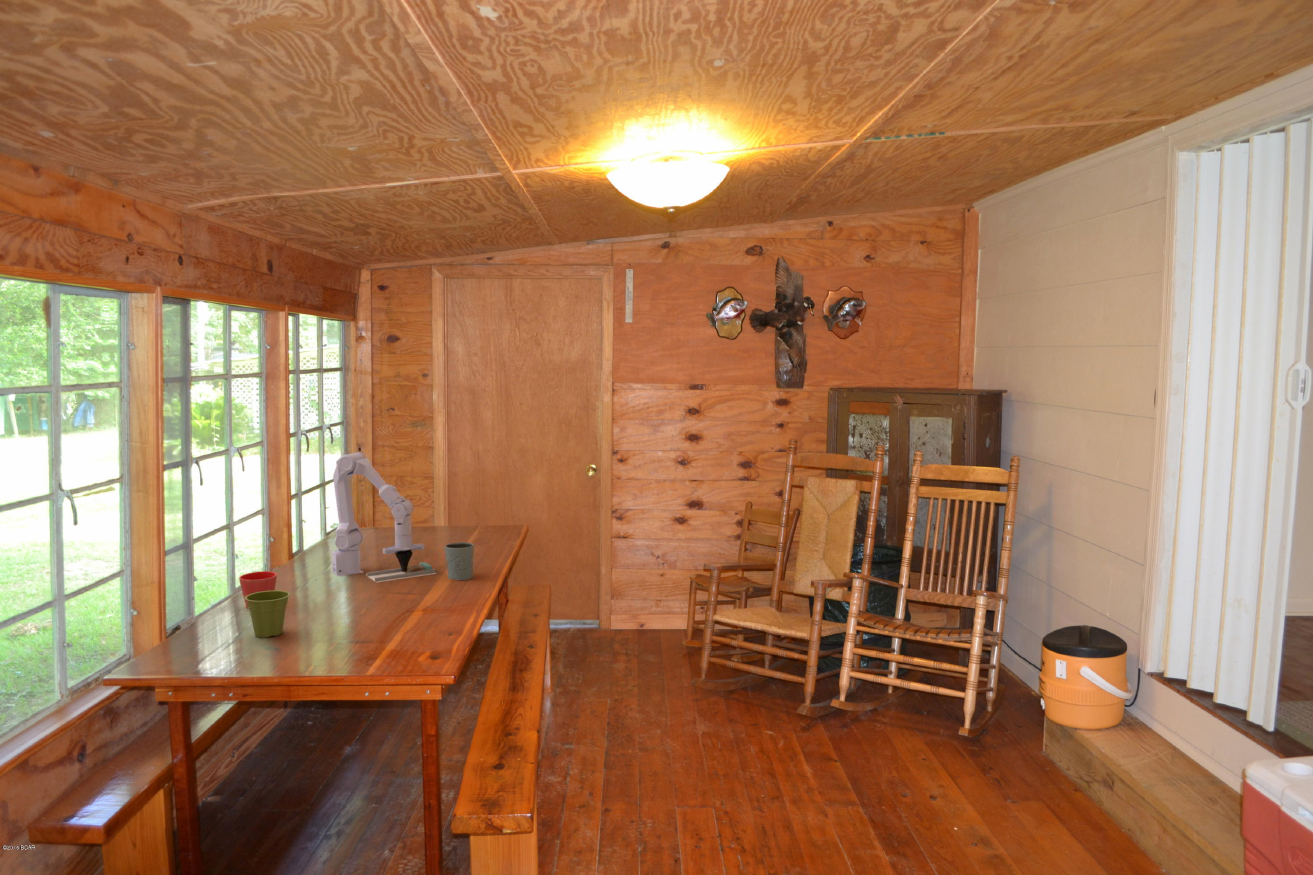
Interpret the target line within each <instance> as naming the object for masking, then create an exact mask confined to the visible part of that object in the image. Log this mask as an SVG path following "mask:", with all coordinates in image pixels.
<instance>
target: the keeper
mask: <svg viewBox="0 0 1313 875" xmlns="http://www.w3.org/2000/svg"><path fill="white" fill-rule="evenodd" d="M418 571H425V567H423V566H421V565H419V564H415V565H408V567H407V572H404V573H411V572H418Z"/></svg>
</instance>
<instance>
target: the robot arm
mask: <svg viewBox="0 0 1313 875" xmlns="http://www.w3.org/2000/svg"><path fill="white" fill-rule="evenodd" d="M335 462H336V464H335V465H336V467H335V468H334V472H333V476H332V479H333V487H334V488H333V489H334V494H335V495H334V496H335V501H336V509H337V510H336V511H337V517H338V525H337V528H336V529H335V538H334V545H335V546H336V548H337V550H333V551H331V552H332V553H331V573H332V574H334V575H335V576H337V577H341V576H348V575H356V574H363V573H364V571H363V570H361V558H360V557H361V556H360V554H361V553H360V547H361V546H360V545H361V543H362V542H363V539H364V538H363V533H362V532H361V530H360V525H359V524H358V523H357V522H356V520H355V513H354V505H353V497H352V496H353V495H352V488H351V482H350V481H351V478H352V477H353V476H354V475H362V476H364V477H365V478H366V479H367V480H368V481H369V482H370V483H371V484H372V485H373V487H375V488H376V489H377V490H378V496H379V497H380V498H381V499H382V500H383V502H384V503H385V504H386V505H387V507H388V508H390V509H391V510H390V512H391V515H392V516H393V518H394V545H392V546H388V547H383V548H382V554H383V555H388V554H394V555H395V557H396V559H397V560H398V563H399V566H400V568H401V571H402V572H407V567H408V566H409V563H410V562H411V558H412V557H413V551H418V550H421V551H422V550H423V551H424V549H425V544H424V543H412V542H413V541H412V513H413V512H414V505H413V503H412V501H411V500H409V499H406V497H404V496H402V495H401V494H400V493H399V491H398V489H397V487H396V486H394V485H392V484H387V482H386V481H385V480H384V479H383V478H382V476H380V474H379V472H378V471H377V470H376V469H375V468H374V467H373V465H372V463H371V461H370V459H369V458H368V457H366V456H365V454H364V453H362V452H360V451H357V452H353V453H349V454H343V455H341V456H340V457H339V458H338V459H337V460H336V461H335Z"/></svg>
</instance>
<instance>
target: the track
mask: <svg viewBox="0 0 1313 875" xmlns="http://www.w3.org/2000/svg"><path fill="white" fill-rule="evenodd" d="M418 565H421V566H423V567H425V571H418V572H411V573H404V572H402V571H401V567H397V568H391V569H382V570H375V571H370V572H369V571H368V572H366V575H365V576H366V577H367V578H369V579H370V580H372V581H374V582H375V583H381V582H388V581H390V582H391V581H397V580H402V579H403V580H404V579H409V578H416V577H423V576H430V575H437V569H436V568H433V567H432V564H429V563H428V562H425V561H423V562H419V564H418Z"/></svg>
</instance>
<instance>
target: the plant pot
mask: <svg viewBox="0 0 1313 875" xmlns="http://www.w3.org/2000/svg"><path fill="white" fill-rule="evenodd" d="M290 596H291V592H288V591H287V590H279V589H277V590H276V589H275V590H274V591H262V592H256V593H252V594H249V595H247V596H246V597H245V600H247V603H248V607H249V608H248V607H247V608H248V610H249V612H250V614H249V615H250V617H251V618H250V619H251V623H252V628H253V631H254V632H253V633H254V635H255V637H258V638H271V637H272V636H274V637H277V636H279V635H281V634H283V631H284V625H285V616H286V610H287V604H288V603H289V602H288V601H289V597H290ZM245 600H244V601H245Z"/></svg>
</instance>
